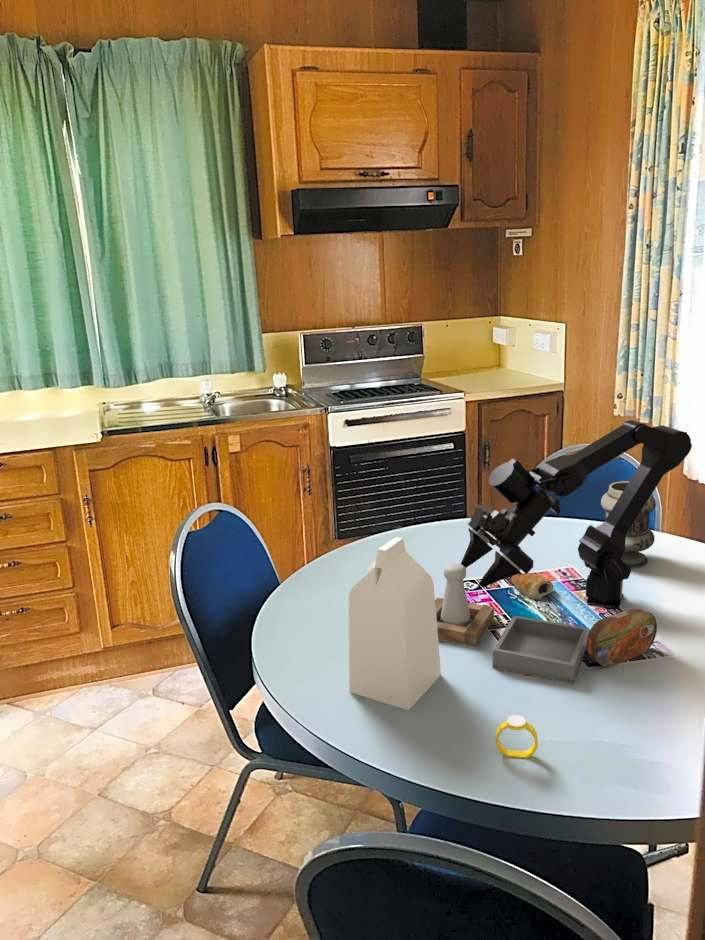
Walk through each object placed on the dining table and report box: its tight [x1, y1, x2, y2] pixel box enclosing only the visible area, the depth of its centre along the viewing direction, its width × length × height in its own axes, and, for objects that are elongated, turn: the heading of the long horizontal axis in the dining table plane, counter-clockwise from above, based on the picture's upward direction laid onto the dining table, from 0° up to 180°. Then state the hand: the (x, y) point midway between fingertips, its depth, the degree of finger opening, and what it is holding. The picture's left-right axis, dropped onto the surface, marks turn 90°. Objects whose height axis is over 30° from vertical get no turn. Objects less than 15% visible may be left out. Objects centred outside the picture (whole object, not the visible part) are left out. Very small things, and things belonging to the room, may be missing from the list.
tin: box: [586, 607, 658, 668], centre depth 136 cm, size 15×3×8 cm, turn 117°
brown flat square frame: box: [435, 597, 495, 647], centre depth 150 cm, size 12×12×2 cm
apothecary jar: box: [600, 480, 657, 569], centre depth 175 cm, size 12×12×18 cm
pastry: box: [510, 572, 554, 600], centre depth 165 cm, size 9×7×4 cm
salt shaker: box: [440, 562, 471, 627], centre depth 149 cm, size 6×6×13 cm
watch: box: [495, 715, 539, 759], centre depth 112 cm, size 6×3×6 cm, turn 79°
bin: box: [492, 615, 590, 685], centre depth 138 cm, size 14×14×4 cm
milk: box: [348, 536, 442, 711], centre depth 129 cm, size 12×12×26 cm
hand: (470, 576), depth 149 cm, fingers open, 9 cm apart
